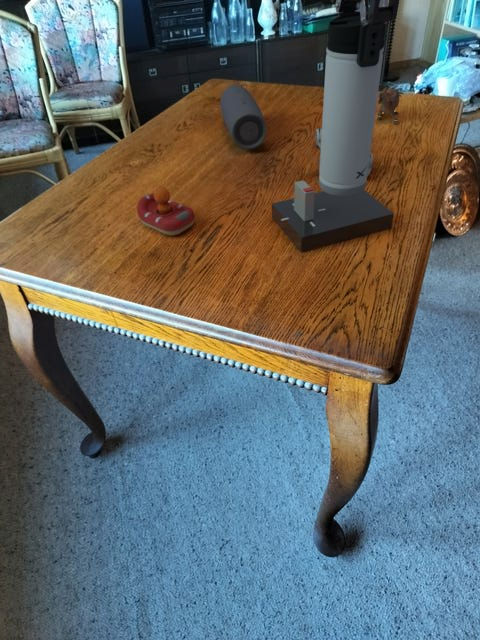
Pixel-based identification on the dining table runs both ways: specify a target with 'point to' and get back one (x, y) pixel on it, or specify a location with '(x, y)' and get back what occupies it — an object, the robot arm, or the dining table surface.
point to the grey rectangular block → (304, 200)
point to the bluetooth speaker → (243, 117)
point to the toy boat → (164, 213)
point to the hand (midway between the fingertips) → (355, 56)
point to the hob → (332, 219)
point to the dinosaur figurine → (389, 102)
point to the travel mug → (347, 109)
